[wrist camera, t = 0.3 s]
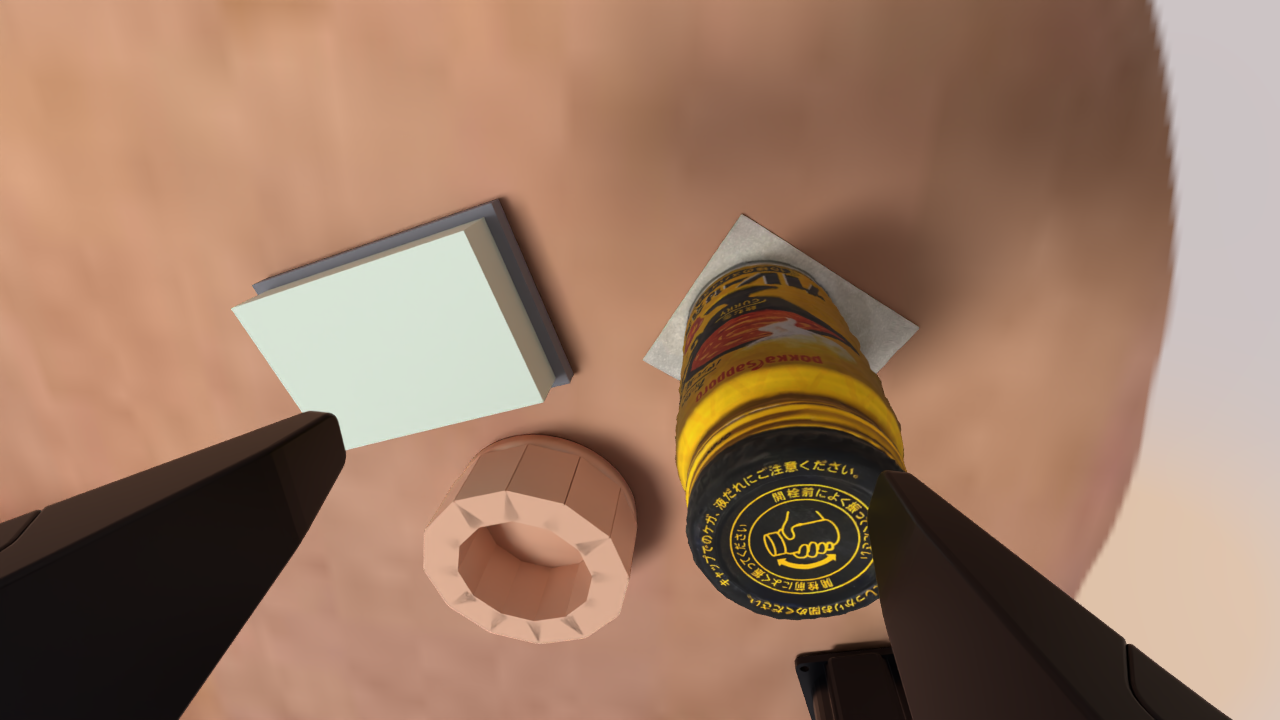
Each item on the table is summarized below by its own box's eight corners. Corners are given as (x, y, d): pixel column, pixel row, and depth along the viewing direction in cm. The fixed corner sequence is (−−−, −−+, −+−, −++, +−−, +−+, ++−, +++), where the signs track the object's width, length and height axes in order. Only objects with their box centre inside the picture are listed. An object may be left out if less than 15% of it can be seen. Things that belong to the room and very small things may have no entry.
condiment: (741, 212, 21) (774, 357, 10) (918, 325, 22) (1111, 559, 12) (642, 357, 24) (591, 581, 14) (802, 449, 25) (870, 720, 15)
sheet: (555, 377, 24) (543, 402, 22) (355, 428, 27) (330, 453, 25) (484, 217, 21) (463, 230, 19) (266, 290, 24) (230, 308, 22)
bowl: (660, 559, 29) (653, 629, 26) (505, 583, 32) (478, 652, 28) (599, 416, 26) (581, 474, 22) (429, 455, 28) (386, 514, 24)
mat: (573, 374, 25) (570, 383, 24) (360, 427, 28) (351, 437, 27) (498, 198, 22) (491, 202, 21) (265, 279, 24) (252, 285, 24)
